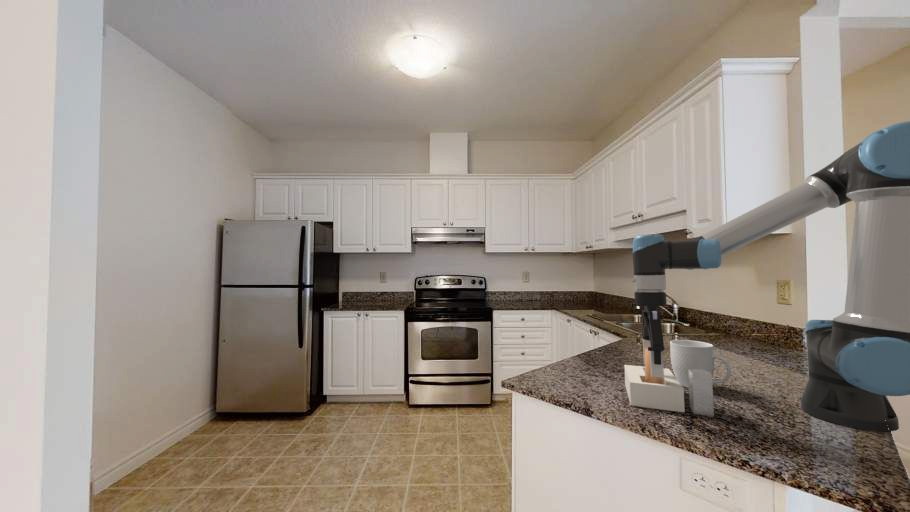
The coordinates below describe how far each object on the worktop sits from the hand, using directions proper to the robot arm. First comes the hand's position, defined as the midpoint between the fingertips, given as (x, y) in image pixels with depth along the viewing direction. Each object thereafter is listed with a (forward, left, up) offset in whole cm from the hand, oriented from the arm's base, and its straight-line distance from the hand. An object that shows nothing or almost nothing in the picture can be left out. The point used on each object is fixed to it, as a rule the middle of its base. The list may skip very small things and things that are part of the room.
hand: (653, 369), depth 90 cm
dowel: (0, 0, -7) cm, 7 cm away
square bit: (-10, +2, -9) cm, 13 cm away
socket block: (0, -5, -9) cm, 10 cm away
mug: (-14, -19, -9) cm, 25 cm away
